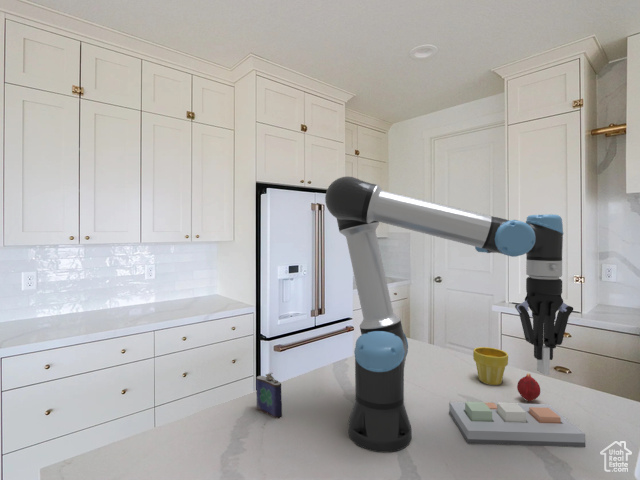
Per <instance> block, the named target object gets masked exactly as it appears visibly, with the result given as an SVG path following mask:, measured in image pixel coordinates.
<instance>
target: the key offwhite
mask: <svg viewBox="0 0 640 480" xmlns="http://www.w3.org/2000/svg"><path fill="white" fill-rule="evenodd" d="M496 403H497V414H498V415H499V416H500V417H501V418H502V419H503V421H504V422H520V423H526V412H525V411H524V410H523V409H522V408H521V407H520V406H519V405H518V404H519V403H517V402H496Z"/></svg>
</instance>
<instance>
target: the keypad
mask: <svg viewBox="0 0 640 480" xmlns="http://www.w3.org/2000/svg"><path fill="white" fill-rule="evenodd" d="M465 402H466V401H463V402H462V401H461V402H460V401H449V403H448V404H449V406H448V407H449V409H448V410H449V411H448V412H449V414H450V416H451V418H452V420H453V421H454V423H455V425H456V426H457V427H458V429H459V431H460V433H461V435H463V438H464V440H465V441H466V442H467V444H471V445H472V444H473V445H474V444H477V445H478V444H480V445H505V446H508V445H510V446H511V445H514V446H540V447H542V446H543V447H544V446H546V447H573V448H574V447H575V448H576V447H579V448H583V447H584V448H585V447H586V433H585V432H584V431H583V430H581V429H580V428H579V427H578V426H576V425H575V424H574V423H572V421H570V419H569V420H568V418H566V417H565V416H564V415H562V414H561V413H560V412H559V411H558V410H557V409H556V408H554V407H553V406H552V405H550V404H549V403H517V404H518V405H519V406H520V407H521V408H522V409H523V410H524V411H525V412H526V423H520V422H504V421H503V419H502V418H501V417H500V416H499V415H498V414H497V402H484V401H483V402H484V403H485V404H486V405H487V406H488V407H489V408H490V409H491V411H492V422H483V421H470V419H469V418H468V416H467V415H466V413H465ZM529 407H540V408H550V409H551V410H552V411H553V412H555V413H556V414H557V415H558V416H559V417H561V424H558V423H539V422H538V421H537V420H535V419H534V418H533V417H532V416H531V415H530V414H529Z"/></svg>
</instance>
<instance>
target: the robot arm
mask: <svg viewBox="0 0 640 480" xmlns="http://www.w3.org/2000/svg"><path fill="white" fill-rule="evenodd" d="M324 200H325V201H324V202H325V206H326V208H327V210H328V211H329V213H330V214H331V216H333V217H334V218H335V219H336V222H337V227H338V231H339V233H340V234H341V235H343V236H344V237H345V238H346V239H345V240H346V243H347V247H348V252H349V253H348V254H349V258H350V261H351V267H352V272H353V277H354V282H355V286H356V290H357V291H356V292H357V295H358V298H359V300H358V301H359V305H360V309H361V313H362V321H361V322H360V324H359V330H360V334H361V335H359V336H358V338H357V339H356V342H355V348H354V351H353V352H354V357H355V358H354V365H355V366H354V369H355V370H354V372H355V374H354V375H355V377H354V379H355V380H354V381H355V384H354V385H355V386H354V387H355V395H354V396H355V399H354V400H355V401H354V404H353V406H352V409H351V412H350V413H351V414H350V416H349V420H348V423H347V425H348V427H347V428H348V429H347V430H348V435H349V438H350V440H351V441H352V442H354V443H355V444H356V445H357V446H359V447H362V448H363V449H366V450H369V451H373V452H381V453H384V452H385V453H387V452H388V453H390V452H396V451H400V450H401V449H404V448H406V447H407V446H409V445H410V443H411V441H412V425H411V422H410V419H409V416H408V412H407V409H406V406H405V402H404V401H405V397H404V396H405V387H404V386H405V384H404V383H405V364H406V360H407V356H408V352H409V342H408V339H407V338H408V337H406V334H405V332H404V330H403V324H402V320H401V318H400V317H399V316H398V315H396V314H395V313H394V309H393V305H392V301H391V300H392V299H391V296H390V295H391V294H390V292H389V287H388V282H387V277H386V274H385V273H386V272H385V269H384V263H383V259H382V255H381V250H380V244H379V241H378V236H377V232H376V230H377V228H378V227H379V225H380V223H381V224H387V225H391V226H393V227H397V228H401V229H406V230H409V231H412V232H413V231H414V232H417V233H422V234H425V235H429V236H434V237H437V238H441V239H445V240H448V241H453V242H456V243H461V244H465V245H468V246H472V247H474V248H475V249H474V250H475V251H476V252H478V253H486V254H492V253H493V254H495V253H496V254H501V255H505V256H507V257H513V258H515V257H520V256H523V255H525V254H526V257H525V258H526V261H525V262H526V265H525V266H526V267H525V269H526V270H525V271H526V273H525V274H526V275H527V277H526V279H525V282H526V283H525V284H526V285H525V290H526V295H525V298H524V301H523V302H521V303H520V304H519V303H516V304H515V305H514V308H515V309H516V311H517V312H518V314H519V318H520V322H521V326H522V331H523V335H524V339H525V341H526V342H527V343H529V344H531V345H533V357H534V358H535V359H536V371H537V372H539V373H540V374H542V375H544V376H545V375H546V376H547V375H550V374H551V373H550V371H551V368H550V367H551V366H550V363H551V362H550V361H553V358H554V349H556V348H557V346H561V345H562V344H563V341H564V336H565V332H566V328H567V324H568V322H569V317H570V315H571V314H572V313H573V312H574V307H573V306H570V305H568V304H567V303H565V302H564V299H563V296H562V294H563V279H561V278H562V277H563V243H564V242H563V241H564V228H563V227H564V226H563V219H562V216H561V215H559V214H552V213H551V214H547V213H546V214H532V215H531V214H530V215H528V216H527V217H526V221H525V222H524V221H522V220H517V219H511V220H510V219H506V218H501V217H497V216H491V215H489V214H485V213H481V212H477V211H472V210H467V209H464V208H460V207H455V206H450V205H447V204H441V203H438V202H433V201H429V200H425V199H420V198H416V197H412V196H407V195H402V194H399V193H395V192H390V191H386V190H383V189H382V188H381V186H380V185H379V184H376V183H370V182H368V181H365V180H362V179H359V178H356V177H354V176H341V177H339V178H336V179H335V180H334V181H332V182H331V183H330V185H329V186H328V188H327V189H326V193H325V197H324ZM529 309H530V310H529ZM529 311H531V315H530V313H529ZM557 311H558V312H557ZM556 314H557V315H556ZM530 316H531V317H532V320H531V317H530Z"/></svg>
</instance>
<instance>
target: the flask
mask: <svg viewBox="0 0 640 480" xmlns="http://www.w3.org/2000/svg"><path fill="white" fill-rule="evenodd" d="M272 375H273V372H269V373H265V376H264V375H258V376H256V377H255V378H256V380H255V385H256V392H255V393H256V401H255V402H256V406H255V407H256V410H257V411H259V412H262V413H263V414H266V415H268V416H271V417H272V418H274V419H281V418H282V416H283V409H282V408H283V406H282V382H280V381H278V380H277V379H275V377H274V376H272ZM280 417H281V418H280Z"/></svg>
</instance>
